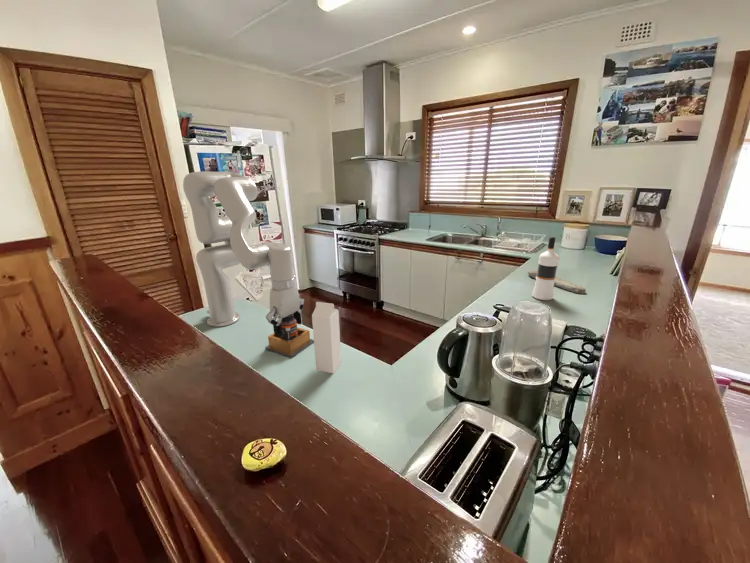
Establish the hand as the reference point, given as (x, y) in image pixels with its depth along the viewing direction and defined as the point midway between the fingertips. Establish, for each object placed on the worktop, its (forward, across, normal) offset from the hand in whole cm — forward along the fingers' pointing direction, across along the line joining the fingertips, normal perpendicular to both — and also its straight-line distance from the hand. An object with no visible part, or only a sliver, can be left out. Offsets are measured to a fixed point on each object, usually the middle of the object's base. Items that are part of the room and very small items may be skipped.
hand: (288, 329), depth 109 cm
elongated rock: (+7, -120, +83) cm, 146 cm away
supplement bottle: (+6, 0, 0) cm, 6 cm away
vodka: (+7, -93, +78) cm, 122 cm away
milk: (+7, +4, +20) cm, 22 cm away
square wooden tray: (+7, 0, 0) cm, 7 cm away
